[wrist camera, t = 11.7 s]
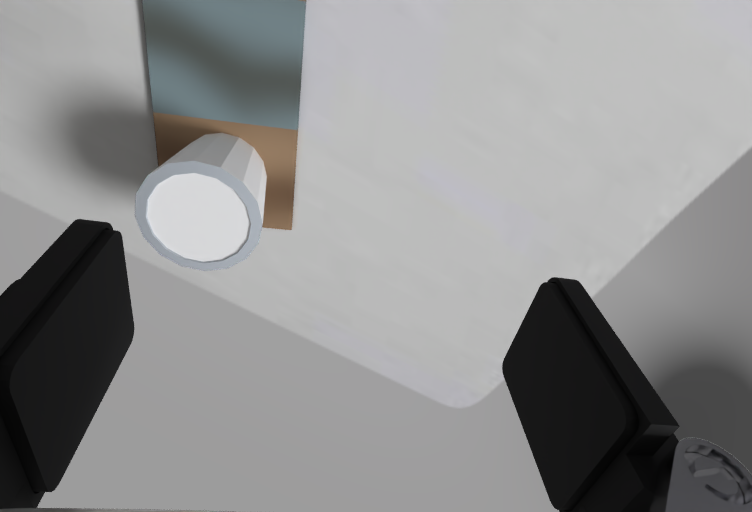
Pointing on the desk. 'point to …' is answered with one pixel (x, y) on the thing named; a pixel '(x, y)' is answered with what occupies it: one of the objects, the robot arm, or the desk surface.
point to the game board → (230, 82)
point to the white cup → (205, 203)
